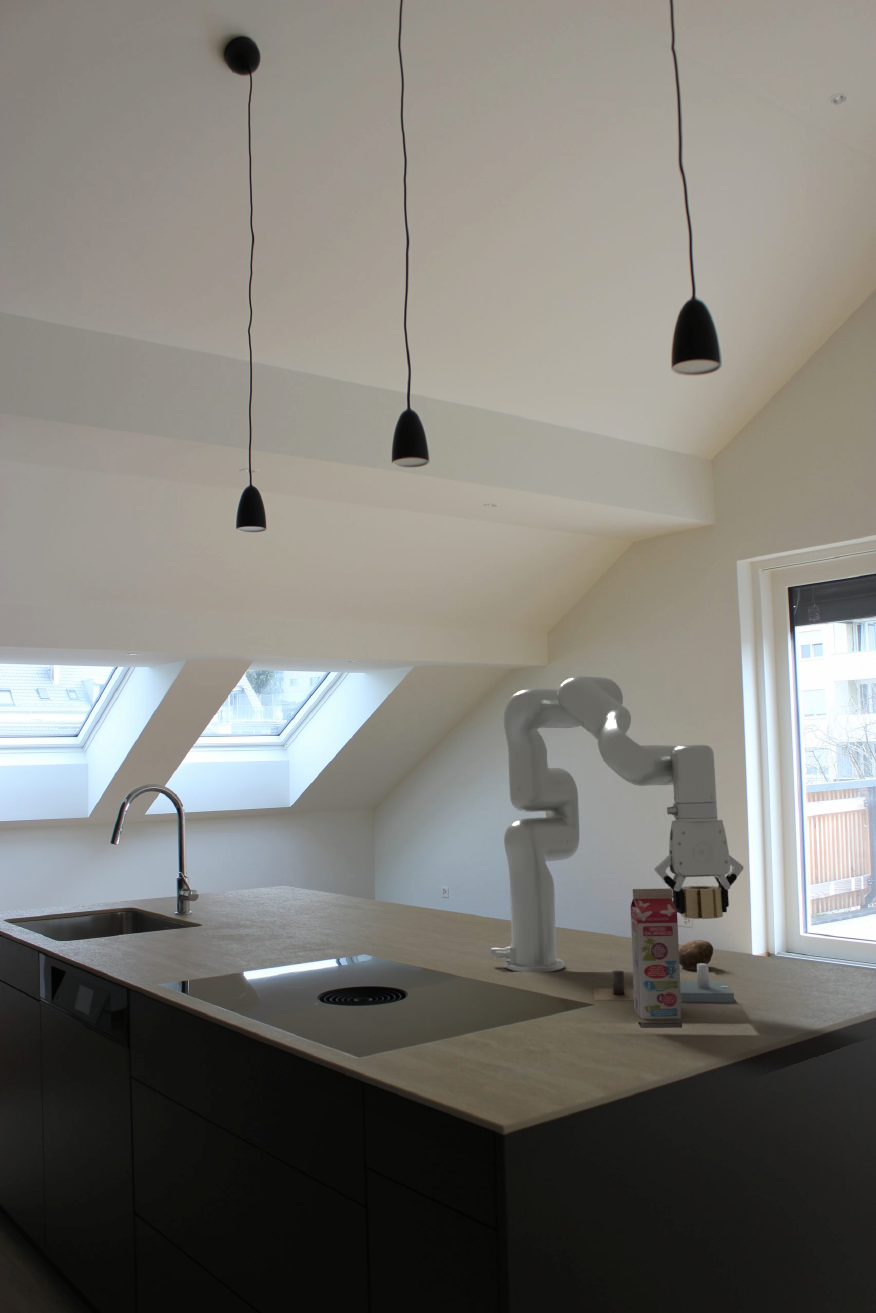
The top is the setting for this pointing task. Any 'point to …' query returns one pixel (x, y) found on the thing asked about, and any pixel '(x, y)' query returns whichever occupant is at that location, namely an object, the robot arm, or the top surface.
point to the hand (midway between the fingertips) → (701, 911)
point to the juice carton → (655, 957)
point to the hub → (705, 988)
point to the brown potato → (695, 954)
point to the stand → (615, 989)
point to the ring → (702, 902)
